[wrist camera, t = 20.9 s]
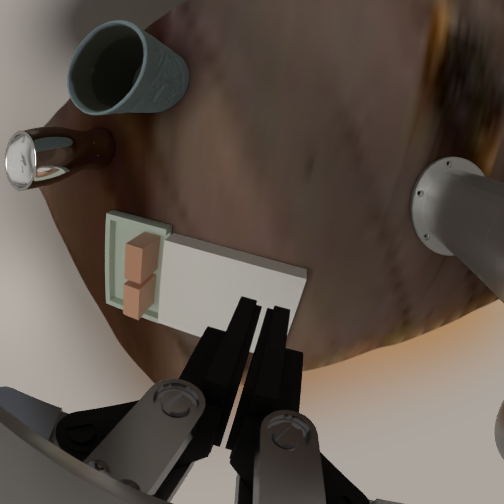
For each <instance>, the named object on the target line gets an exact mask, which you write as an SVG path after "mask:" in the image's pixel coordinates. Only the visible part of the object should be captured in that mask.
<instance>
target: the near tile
mask: <svg viewBox="0 0 504 504" xmlns="http://www.w3.org/2000/svg"><path fill="white" fill-rule="evenodd" d="M160 237H161V236H159V235H155V234H152V233H148V232H143V233H142V234H140V235H138V236H137V237H135V238H133V239H132V240H130V241H129V242H127V243H126V247H125V270H124V278H125V279H127V280H130V281H133V282H136V283H138V284H141V283H142V282H143V281H144V280H146V279H147V278H148V277H149V276H150V275H151V274H152V273H153V272H154V271H155V270H156V269H157V266H158V256H159V246H160Z"/></svg>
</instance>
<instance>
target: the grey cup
mask: <svg viewBox="0 0 504 504" xmlns="http://www.w3.org/2000/svg"><path fill="white" fill-rule="evenodd" d="M67 80H68V82H67V83H68V84H67V85H68V91H69V95H70V97H71V100H72V102H73V103H74V104H75V106H76V107H78V108H79V109H80V110H81V111H82V112H84V113H87V114H90V115H106V114H113V113H125V112H133V113H157V112H162V111H165V110H167V109H169V108H171V107H173V106H174V105H175V104H177V102H179V101H180V100H181V99H182V97H183V96H184V94H185V92H186V90H187V88H188V84H189V69H188V66H187V64H186V62H185V61H184V59H183V58H182V57H181V56H179V55H178V54H176V53H175V52H174V51H172V50H171V49H170V48H168V47H167V46H166V45H164V44H162V43H161V42H160V41H159V40H157V39H156V38H154V37H153V36H151V35H150V34H148V33H146V32H145V31H144V30H142V29H141V28H139V27H137V26H136V25H134V24H132V23H130V22H127V21H124V20H116V21H111V22H108V23H105V24H103V25H101V26H99V27H97V28H96V29H94V30H93V31H92V32H90V33H89V34H88V35H87V36H86V38H84V40H83V41H82V42H81V44H80V45H79V46H78V48H77V50H76V51H75V53H74V55H73V58H72V60H71V63H70V66H69V71H68V78H67Z"/></svg>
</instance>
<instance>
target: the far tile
mask: <svg viewBox="0 0 504 504" xmlns="http://www.w3.org/2000/svg"><path fill="white" fill-rule="evenodd" d="M155 282H156V274H154V273H152V274H151V275H150V276H149V277H148V278H147V279H146V280H144V281H143V282H142V283H141V284H138V283H136V282H133V281H130V280H128V281H127V282H125V283H124V289H123V314H125V315H127V316H129V317H132V318H134V319H137V320H139V319H140V318H141V317H142V315H143V314H144V313H145V312H146V311H147V310H148V309H149V308H150V306H151V305H152V304H153V303H154V293H155Z"/></svg>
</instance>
